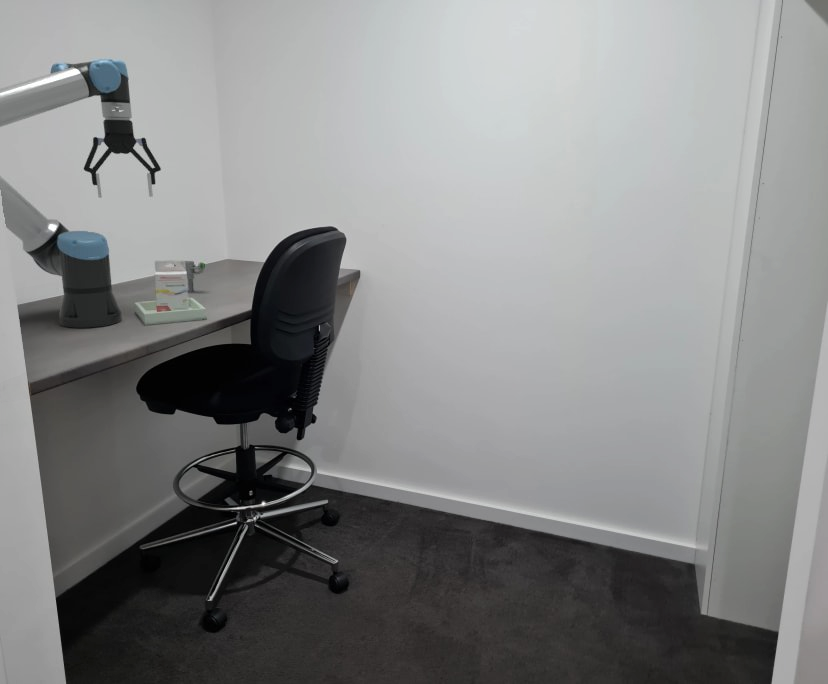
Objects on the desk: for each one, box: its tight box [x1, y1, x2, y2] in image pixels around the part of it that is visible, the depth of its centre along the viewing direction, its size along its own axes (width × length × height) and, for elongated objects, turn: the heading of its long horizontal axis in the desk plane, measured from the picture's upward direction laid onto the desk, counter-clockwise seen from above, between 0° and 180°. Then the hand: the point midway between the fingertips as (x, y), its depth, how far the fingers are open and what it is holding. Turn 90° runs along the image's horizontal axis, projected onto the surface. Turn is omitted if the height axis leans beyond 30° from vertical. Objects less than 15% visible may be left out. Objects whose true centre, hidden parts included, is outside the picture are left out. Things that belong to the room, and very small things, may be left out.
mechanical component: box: [173, 260, 206, 293], centre depth 219 cm, size 3×10×10 cm, turn 78°
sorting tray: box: [134, 297, 207, 326], centre depth 187 cm, size 16×16×3 cm
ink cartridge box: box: [154, 259, 189, 312], centre depth 186 cm, size 9×5×15 cm, turn 109°
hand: (125, 196), depth 193 cm, fingers open, 13 cm apart
